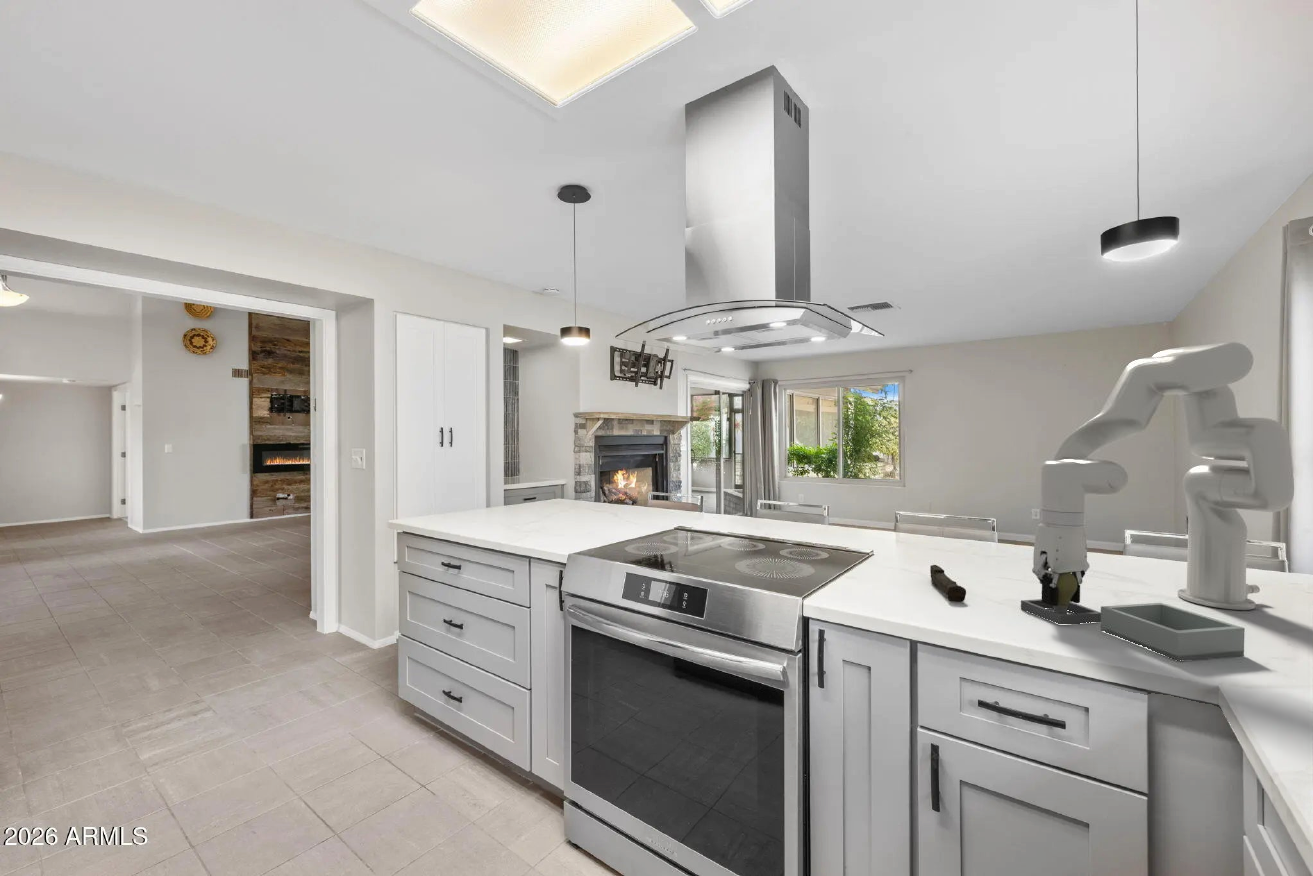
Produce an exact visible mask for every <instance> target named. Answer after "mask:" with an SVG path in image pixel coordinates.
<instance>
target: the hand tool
mask: <svg viewBox="0 0 1313 876" xmlns="http://www.w3.org/2000/svg"><path fill="white" fill-rule="evenodd" d="M929 570H930V573H929V574H930V580H931V581H930V582H931V583H932V585H933V586H937V587H938V589H940V590H941V591H942V592H943V593H944V594H945V595H946V596H947V597H946V599H947V600H948V601H949V602H953V603H961V602H964V601H965V599H966V595H967V589H966V588H964V586H961V585H958V584H957V581H954V580H952V578H950V577H949V576H947V575H946V574H945V569H943V568H942V567H941V566H940V565H937V564H932V565H930V568H929Z"/></svg>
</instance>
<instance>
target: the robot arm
mask: <svg viewBox="0 0 1313 876" xmlns="http://www.w3.org/2000/svg"><path fill="white" fill-rule="evenodd" d="M1253 364H1254V356H1253V352H1252V351H1251V349H1250V348H1249V347H1247V346H1246V345H1245V344H1243V343H1240V342H1236V341H1225V342H1215V343H1208V344H1207V343H1206V344H1200V345H1198V344H1197V345H1188V346H1180V347H1174V348H1169V349H1165V350H1161V351H1159V352H1157V353H1154V354H1153V355H1152V356H1150V357H1144V358H1139V359H1136V360H1133V361H1132V362H1130V363H1129V364H1128V365H1126V367H1125V368H1123V371H1122V373H1121V374H1120V377H1119V379H1117V382H1116V383H1115V385H1114V387H1113V389H1112V391H1111V392H1110V394H1109V396H1108V398H1107V400H1106V401H1105V403H1104V405H1103V407H1102V409H1101V411H1100V412H1099V413H1098V414H1097V415H1096V416H1094V417H1093V418H1091V419H1089V420H1088V421H1086V422H1084V423H1083V424H1082V425H1080V426H1079V427H1078V428H1077V429H1075V430H1074V431H1073V432H1071V433H1070V434H1068V436H1067V437H1065V439H1064V440H1063V441H1062V442H1061V443H1060V445H1059V447H1058V448H1057V450H1056V451H1055V454H1054V455H1053V457H1052V459H1051V460H1046V461H1044V462H1043V463H1042V465H1041V467H1040V468H1041V469H1040V524H1039V523H1038V526H1037V528H1036V532H1035V537H1034V544H1033V545H1034V546H1033V557H1032V558H1033V559H1032V561H1033V562H1032V563H1033V567H1032V569H1031V572H1032V573H1033V574H1034V575H1035V576H1036V578H1037V579H1038V581H1039V584H1040V585H1041V599H1042V602H1043V603H1046V604H1049V605H1052V606H1058V587H1056V584H1057V580H1058V576H1059V574H1061V573H1071V574H1072V575H1073V576H1074V577H1075V578H1076V580H1077V590H1076V592H1075V593H1074V595H1073V596H1072V598H1071V600H1070V602H1073V603H1076V604H1080V602H1081V585H1082V584H1083V578H1084V577H1085V575H1086V572H1087V571H1088V569H1090V567H1091V566H1090V563H1089V562H1088V548H1087V547H1088V546H1087V536H1086V535H1087V534H1086V530H1085V499H1086V498H1085V497H1086V496H1085V495H1096V496H1102V497H1103V496H1106V497H1107V496H1113V495H1116V494H1118V493H1120V492H1121V491H1123V490H1124V489H1125V488H1126V486H1127V485H1128V482H1129V475H1128V473H1127V471H1126V468H1124V467H1123V466H1122V465H1121V464H1120V463H1117V462H1114V461H1111V460H1104V459H1092V458H1089V457H1090V456H1091V455H1092V454H1093V453H1094V452H1095V451H1097V450H1098V449H1100V448H1103V447H1104V446H1107V445H1109V444H1112V443H1115V442H1118V441H1121V440H1125V439H1128V438H1130V437H1133V436H1135V435H1138V434H1140V433H1142V432H1144V431H1145V430H1146V429H1147V428H1148V426H1149V424H1150V423H1151V420H1152V419H1153V417H1154V415H1155V413H1156V411H1157V410H1158V407H1159V406H1160V404H1161V402H1162V401H1163V399H1164V397H1166V396H1174V395H1177V396H1178V397H1179V399H1180V400H1181V403H1182V410H1183V413H1184V414H1183V417H1184V423H1185V434H1186V441H1187V442H1186V443H1187V447H1188V449H1189V452H1190V453H1191V454H1192V455H1193V456H1195V457H1197V458H1201V459H1205V460H1218V461H1236V462H1246V464H1247V466H1245V465H1242V466H1241V465H1233V464H1231V465H1230V464H1216V463H1215V464H1201V465H1197V466H1193V467H1191V468H1190V469H1189V470H1187V471H1186V473H1185V474H1184V477H1183V480H1182V487H1183V488H1182V489H1183V493H1184V496H1185V501H1186V505H1187V518H1188V519H1187V522H1188V523H1187V563H1186V588H1180V589H1178V590H1177V596H1178V598H1181V599H1182V600H1184V601H1187V602H1191V603H1193V604H1197V605H1201V606H1206V607H1213V608H1216V609H1223V610H1224V609H1225V610H1234V611H1235V610H1237V611H1251V610H1254V609H1256V607H1257V605H1256V602H1255V601H1254V600H1252V599H1250V598H1248V595H1249V594H1258V593H1260V592H1261V589H1260V587H1259V586H1258V585H1257V584H1248V583H1247V556H1248V555H1247V553H1248V552H1247V549H1248V547H1247V546H1248V527H1247V525H1246V522H1245V519H1244V518H1243V517H1242V515H1241V514H1240V512H1239V511H1238V510H1244V511H1253V512H1254V511H1255V512H1264V513H1277V512H1281V511H1284V510H1286V509H1287V508H1288V507H1289V506H1290V505H1292V502H1293V499H1294V494H1295V482H1294V481H1295V479H1294V472H1293V471H1294V470H1293V469H1294V468H1293V460H1292V459H1293V458H1292V450H1291V442H1290V437H1289V434H1288V431H1287V430H1286V429H1285V427H1284V426H1283V425H1282V424H1281V423H1280V422H1278V421H1277V420H1275V419H1271V418H1267V417H1266V418H1265V417H1241V416H1240V415H1239V414H1238V409H1237V403H1236V401H1237V400H1236V396H1235V393H1234V392H1233V390H1232V388H1231V387H1230V386H1229V385H1230V384H1234V383H1236V382H1239V381H1240V380H1242V379H1244V378H1245V377H1246V376H1248V374H1249V373H1250V372H1251V370H1252V368H1253V366H1254V365H1253ZM1049 569H1050V570H1049ZM1048 574H1052V577H1051V579H1050V578H1049V576H1048Z"/></svg>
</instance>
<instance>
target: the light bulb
mask: <svg viewBox="0 0 1313 876" xmlns="http://www.w3.org/2000/svg"><path fill="white" fill-rule="evenodd" d="M1048 576H1049V578H1050V579H1051V577H1052V574H1048ZM1056 587H1058V606H1053V607H1054V609H1053V610H1052V611H1053V612H1056V613H1058V614H1068V611H1067V607H1068V605H1069V603H1070V602H1071V601H1070V600H1071V598H1072V596H1073V595H1074V593H1075V592H1076V590H1077V580H1076V578H1075V577H1074V576H1073V575H1072V574H1071V573H1061V574H1059V576H1058V580H1057V584H1056Z"/></svg>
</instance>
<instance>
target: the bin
mask: <svg viewBox="0 0 1313 876" xmlns="http://www.w3.org/2000/svg"><path fill="white" fill-rule="evenodd" d="M1100 612H1101V623H1100V630H1101V631H1105V632H1106V633H1109V634H1112V635H1115V636H1118V637H1120V638H1123V639H1125V640H1128V641H1130V642H1133V643H1135V644H1138V645H1142V646H1143V647H1147V648H1148V649H1151V650H1152V651H1155V652H1157V653H1160V654H1163V655H1165V656H1167V657H1169V658H1168V659H1170V658H1172V659H1173V661H1175V660H1177V661H1180V660H1181V661H1180V662H1183V661H1182V660H1192V661H1201V660H1200V659H1203V660H1211V658H1213V659H1214V658H1215V659H1223V658H1224V659H1225V658H1235V657H1244V656H1245V627H1242V626H1238V625H1236V624H1232V623H1230V622H1225V621H1223V620H1219V619H1216V618H1212V617H1210V616H1207V615H1202V614H1199V613H1196V612H1193V611H1189V610H1188V609H1186V610H1185V609H1183V608H1180V607H1176V606H1173V605H1170V604H1166V603H1163V602H1149V603H1148V602H1147V603H1135V604H1132V603H1131V604H1121V605H1120V604H1119V605H1106V606H1105V605H1103V606H1100ZM1101 631H1100V632H1101ZM1106 633H1105V634H1106ZM1152 651H1151V652H1152ZM1157 653H1156V654H1157ZM1167 657H1166V658H1167ZM1209 658H1210V659H1209ZM1172 659H1171V660H1172ZM1198 659H1199V660H1198ZM1213 659H1212V660H1213ZM1177 661H1176V662H1177Z"/></svg>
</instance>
